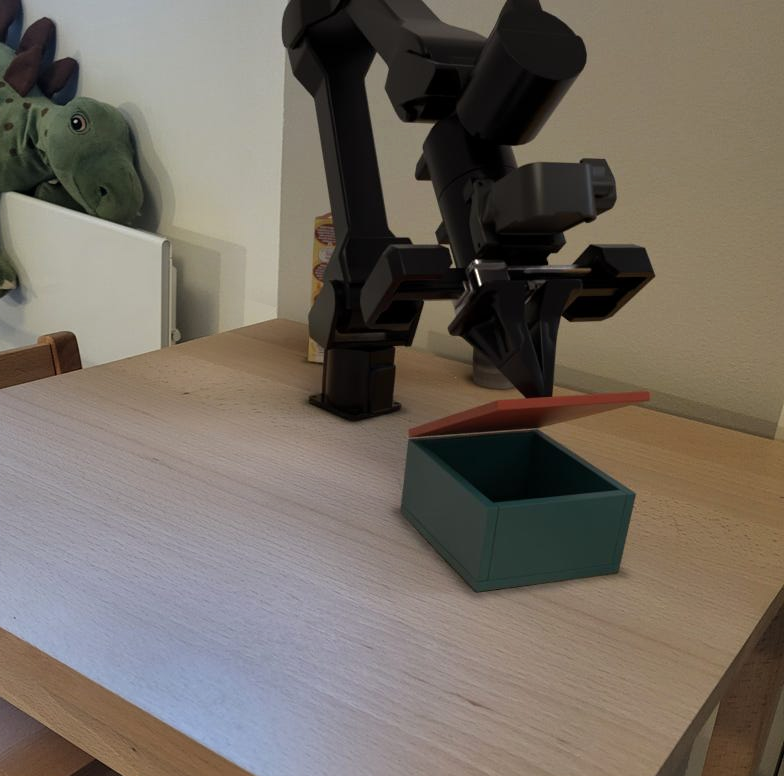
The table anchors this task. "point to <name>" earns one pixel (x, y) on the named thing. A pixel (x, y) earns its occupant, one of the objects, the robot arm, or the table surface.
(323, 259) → the candy box
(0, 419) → the table surface
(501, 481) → the teal open box
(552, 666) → the table surface
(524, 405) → the lid
